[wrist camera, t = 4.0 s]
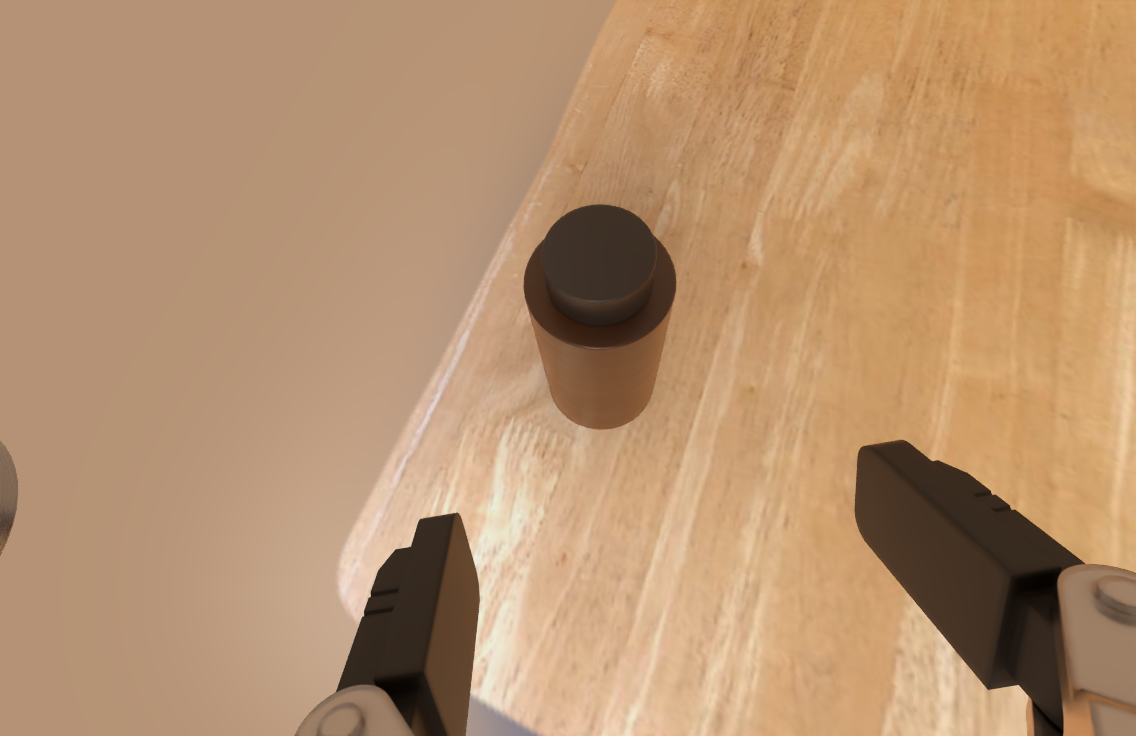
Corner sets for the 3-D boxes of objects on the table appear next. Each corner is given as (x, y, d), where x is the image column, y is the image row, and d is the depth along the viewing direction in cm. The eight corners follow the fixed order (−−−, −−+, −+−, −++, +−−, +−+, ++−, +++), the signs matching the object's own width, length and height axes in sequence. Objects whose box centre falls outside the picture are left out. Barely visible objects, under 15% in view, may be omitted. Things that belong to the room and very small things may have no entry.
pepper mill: (587, 450, 24) (577, 358, 14) (529, 367, 25) (485, 235, 16) (675, 391, 24) (718, 266, 15) (613, 314, 26) (617, 158, 17)
